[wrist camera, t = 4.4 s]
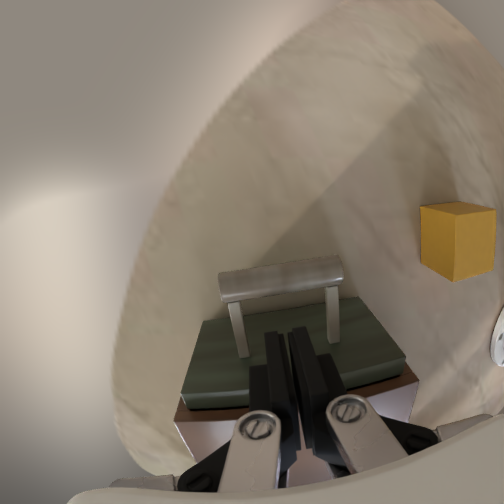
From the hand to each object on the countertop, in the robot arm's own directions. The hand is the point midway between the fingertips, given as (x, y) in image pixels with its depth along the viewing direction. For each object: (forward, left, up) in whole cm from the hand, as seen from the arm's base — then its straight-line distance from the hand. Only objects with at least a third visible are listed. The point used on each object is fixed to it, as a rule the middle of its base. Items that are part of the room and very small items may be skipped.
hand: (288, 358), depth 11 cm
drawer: (0, +6, -9) cm, 11 cm away
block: (-14, -1, -10) cm, 17 cm away
